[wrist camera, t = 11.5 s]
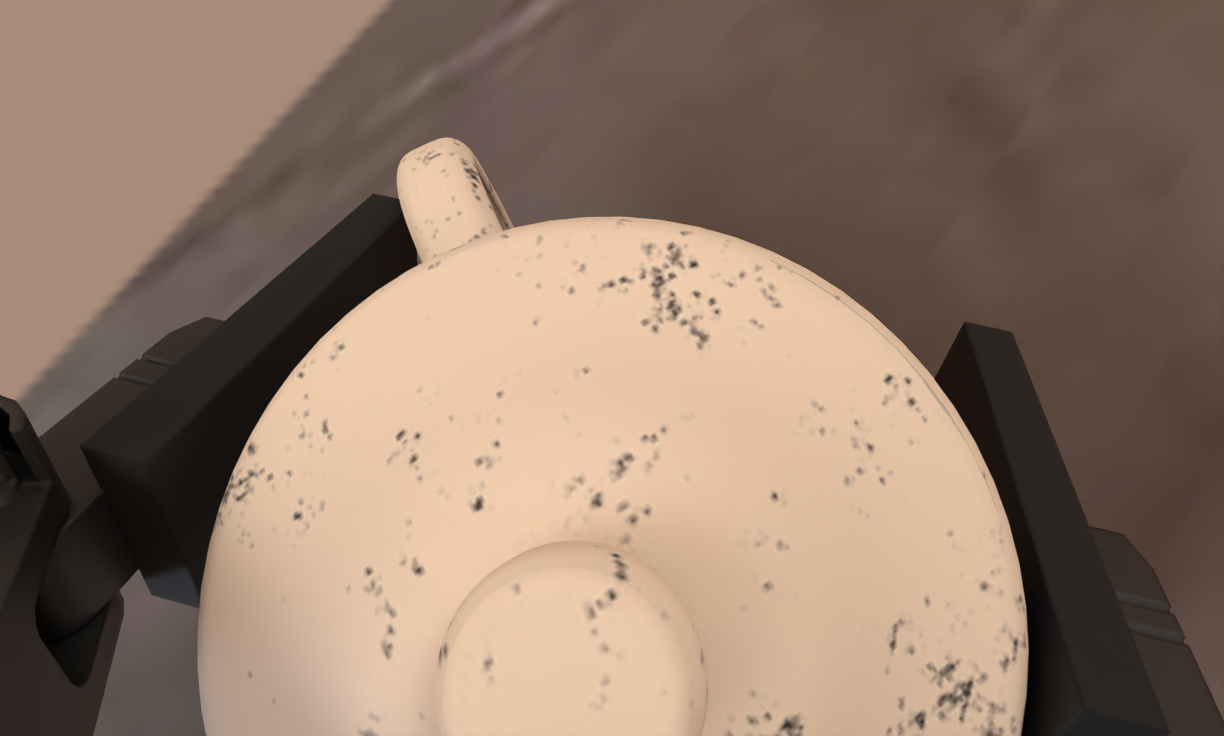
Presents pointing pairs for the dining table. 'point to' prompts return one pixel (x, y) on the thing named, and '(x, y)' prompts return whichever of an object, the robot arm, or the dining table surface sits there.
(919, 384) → the teacup with lid
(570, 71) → the dining table surface
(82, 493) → the robot arm
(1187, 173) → the dining table surface
